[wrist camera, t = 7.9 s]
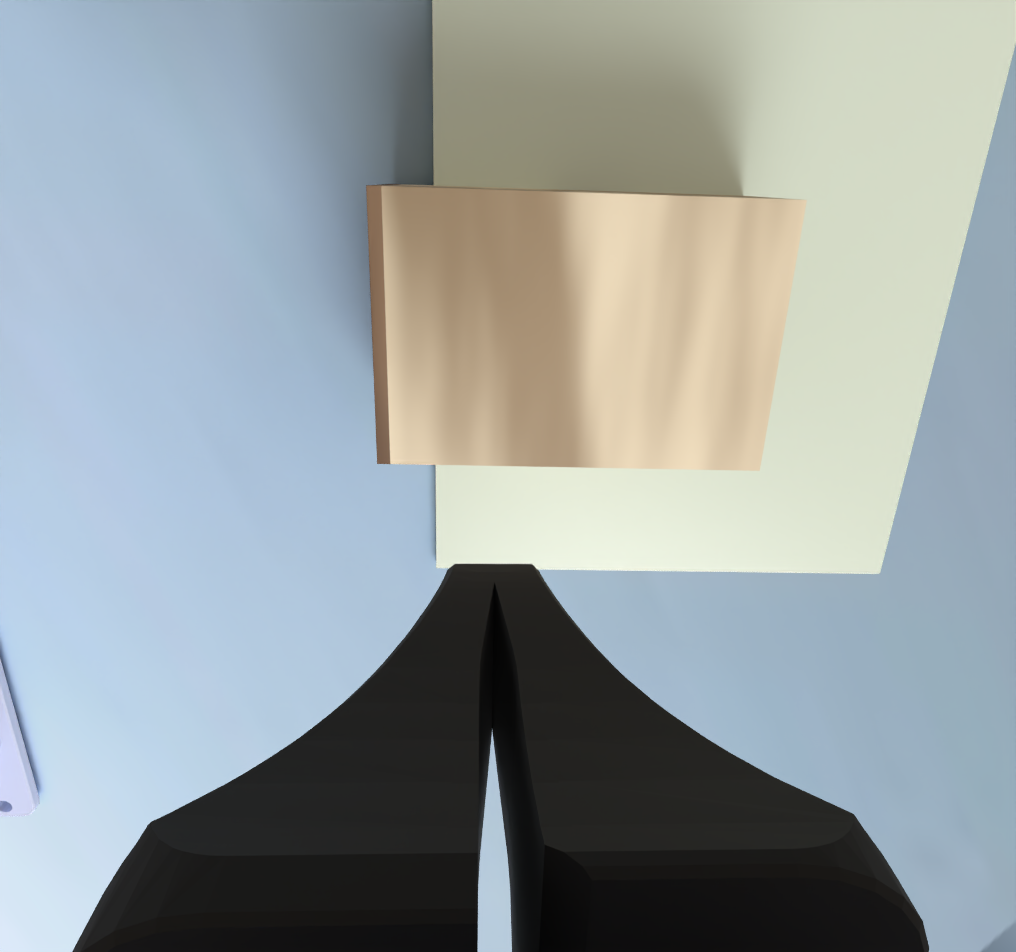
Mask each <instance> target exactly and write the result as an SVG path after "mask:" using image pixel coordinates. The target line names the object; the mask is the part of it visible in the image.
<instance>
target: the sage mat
mask: <svg viewBox="0 0 1016 952" xmlns="http://www.w3.org/2000/svg"><path fill="white" fill-rule="evenodd" d="M432 27H433V167H434V185H437V186H468V187H498V188H528V189H559V190H589V191H619V192H649V193H680V194H710V195H740V196H756V197H771V198H785V199H800V200H807V203H806V208H805V214H804V220H803V225H802V231H801V237H800V243H799V248H798V254H797V260H796V266H795V271H794V277H793V283H792V289H791V294H790V300H789V306H788V312H787V317H786V323H785V329H784V334H783V340H782V346H781V352H780V357H779V363H778V369H777V375H776V380H775V386H774V392H773V398H772V403H771V409H770V415H769V421H768V426H767V432H766V438H765V443H764V449H763V455H762V461H761V466H760V471H742V470H688V469H634V468H581V467H527V466H473V465H436V568H450V567H452V566H453V565H454V564H533V565H534V566H535V568H536V569H552V570H627V571H702V572H777V573H853V574H880V571H881V567H882V563H883V559H884V555H885V551H886V547H887V543H888V540H889V536H890V532H891V528H892V524H893V520H894V516H895V512H896V508H897V504H898V501H899V497H900V493H901V489H902V485H903V481H904V477H905V473H906V469H907V465H908V461H909V458H910V454H911V450H912V446H913V442H914V438H915V434H916V430H917V426H918V422H919V419H920V415H921V411H922V407H923V403H924V399H925V395H926V391H927V387H928V383H929V380H930V376H931V372H932V368H933V364H934V360H935V356H936V352H937V348H938V344H939V340H940V337H941V333H942V329H943V325H944V321H945V317H946V313H947V309H948V305H949V301H950V298H951V294H952V290H953V286H954V282H955V278H956V274H957V270H958V266H959V262H960V259H961V255H962V251H963V247H964V243H965V239H966V235H967V231H968V227H969V223H970V219H971V216H972V212H973V208H974V204H975V200H976V196H977V192H978V188H979V184H980V180H981V177H982V173H983V169H984V165H985V161H986V157H987V153H988V149H989V145H990V141H991V138H992V134H993V130H994V126H995V122H996V118H997V114H998V110H999V106H1000V102H1001V98H1002V95H1003V91H1004V87H1005V83H1006V79H1007V75H1008V71H1009V67H1010V63H1011V59H1012V56H1013V52H1014V48H1015V44H1016V0H432Z"/></svg>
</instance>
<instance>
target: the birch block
mask: <svg viewBox="0 0 1016 952" xmlns="http://www.w3.org/2000/svg"><path fill="white" fill-rule="evenodd" d="M366 191H367V216H368V241H369V267H370V292H371V317H372V342H373V368H374V393H375V418H376V443H377V464H420V465H473V466H527V467H581V468H634V469H688V470H742V471H760V466H761V461H762V455H763V449H764V443H765V438H766V432H767V426H768V421H769V415H770V409H771V403H772V398H773V392H774V386H775V380H776V375H777V369H778V363H779V357H780V352H781V346H782V340H783V334H784V329H785V323H786V317H787V312H788V306H789V300H790V294H791V289H792V283H793V277H794V271H795V266H796V260H797V254H798V248H799V243H800V237H801V231H802V225H803V220H804V214H805V208H806V203H807V200H800V199H785V198H771V197H756V196H740V195H710V194H680V193H649V192H619V191H589V190H559V189H528V188H498V187H468V186H437V185H407V184H382V185H366Z"/></svg>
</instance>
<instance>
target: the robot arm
mask: <svg viewBox="0 0 1016 952" xmlns="http://www.w3.org/2000/svg"><path fill="white" fill-rule="evenodd" d="M492 730H493V739H494V748H495V756H496V764H497V773H498V781H499V789H500V797H501V805H502V814H503V822H504V830H505V838H506V846H507V855H508V865H509V878H510V894H511V928H512V952H929V945H928V941H927V937H926V933H925V929H924V925H923V921H922V919H921V918H920V916H919V914H918V913H917V911H916V909H915V907H914V906H913V904H912V902H911V901H910V899H909V897H908V896H907V894H906V892H905V891H904V889H903V887H902V885H901V884H900V882H899V880H898V879H897V877H896V875H895V874H894V872H893V871H892V869H891V867H890V866H889V864H888V863H887V861H886V859H885V858H884V856H883V855H882V853H881V852H880V851H879V849H878V848H877V846H876V845H875V844H874V842H873V841H872V840H871V838H870V837H869V835H868V834H867V833H866V831H865V830H864V829H863V827H862V826H861V824H860V823H859V821H858V820H857V818H856V817H855V815H854V814H852V813H850V812H848V811H846V810H844V809H841V808H839V807H837V806H835V805H833V804H831V803H828V802H826V801H824V800H822V799H820V798H818V797H815V796H813V795H811V794H809V793H807V792H805V791H802V790H800V789H798V788H796V787H794V786H792V785H789V784H787V783H785V782H783V781H781V780H779V779H777V778H775V777H773V776H771V775H769V774H767V773H765V772H763V771H762V770H760V769H758V768H756V767H754V766H753V765H751V764H749V763H747V762H745V761H744V760H742V759H740V758H738V757H736V756H735V755H733V754H731V753H729V752H728V751H726V750H724V749H723V748H721V747H719V746H718V745H716V744H715V743H713V742H711V741H710V740H708V739H706V738H705V737H703V736H702V735H700V734H699V733H697V732H696V731H694V730H693V729H692V728H690V727H689V726H687V725H686V724H684V723H683V722H681V721H680V720H679V719H677V718H676V717H674V716H673V715H671V714H670V713H668V712H667V711H666V710H665V709H663V708H662V707H661V706H659V705H658V704H657V703H655V702H654V701H653V700H651V699H650V698H649V697H648V696H647V695H645V694H644V693H643V692H642V691H641V690H640V689H638V688H637V687H636V686H635V685H634V684H632V683H631V682H630V681H629V680H628V679H627V678H625V677H624V676H623V675H622V674H621V673H620V672H619V671H618V670H617V669H616V668H615V667H614V666H613V665H612V664H611V663H610V662H609V661H608V660H607V659H606V658H605V657H604V656H603V655H602V653H601V652H600V651H599V650H598V649H597V648H596V647H595V646H594V645H593V644H592V643H591V641H590V640H589V639H588V638H587V637H586V636H585V634H584V633H583V632H582V631H581V630H580V628H579V627H578V626H577V625H576V623H575V622H574V621H573V620H572V619H571V617H570V616H569V615H568V614H567V612H566V611H565V610H564V608H563V607H562V606H561V604H560V603H559V601H558V600H557V599H556V597H555V596H554V594H553V593H552V592H551V590H550V589H549V587H548V586H547V584H546V582H545V581H544V579H543V578H542V576H541V574H540V572H539V571H538V570H537V569H536V568H535V566H534V565H533V564H454V565H453V566H452V567H450V568H449V569H448V570H447V573H446V575H445V577H444V579H443V581H442V583H441V585H440V587H439V589H438V590H437V592H436V594H435V595H434V597H433V598H432V600H431V602H430V603H429V605H428V606H427V608H426V609H425V611H424V612H423V613H422V615H421V616H420V618H419V619H418V620H417V622H416V623H415V625H414V626H413V628H412V629H411V630H410V632H409V633H408V634H407V635H406V637H405V638H404V639H403V640H402V641H401V643H400V644H399V645H398V646H397V647H396V649H395V650H394V651H393V652H392V653H391V655H390V656H389V657H388V658H387V659H386V661H385V662H384V663H383V664H382V665H381V666H380V667H379V668H378V669H377V670H376V671H375V673H374V674H373V675H372V676H371V677H370V678H369V679H368V680H367V681H366V682H365V683H364V684H363V685H362V686H361V687H360V688H359V689H358V690H357V691H355V692H354V693H353V694H352V695H351V696H350V697H349V698H348V699H347V700H346V701H345V702H344V703H343V704H341V705H340V706H339V707H338V708H337V709H335V710H334V711H333V712H332V713H331V714H329V715H328V716H327V717H326V718H324V719H323V720H322V721H321V722H319V723H318V724H317V725H316V726H314V727H313V728H312V729H310V730H309V731H308V732H307V733H305V734H304V735H303V736H301V737H300V738H298V739H297V740H296V741H294V742H293V743H291V744H290V745H288V746H287V747H285V748H284V749H282V750H281V751H279V752H278V753H276V754H275V755H273V756H272V757H270V758H269V759H267V760H265V761H264V762H262V763H260V764H259V765H257V766H256V767H254V768H252V769H251V770H249V771H248V772H246V773H244V774H243V775H241V776H239V777H237V778H236V779H234V780H232V781H230V782H229V783H227V784H225V785H223V786H221V787H219V788H217V789H215V790H213V791H212V792H210V793H208V794H206V795H204V796H202V797H200V798H198V799H196V800H194V801H192V802H190V803H188V804H186V805H185V806H183V807H181V808H179V809H177V810H175V811H173V812H171V813H169V814H167V815H165V816H163V817H161V818H159V819H156V820H154V821H152V822H151V823H150V824H149V825H148V826H147V828H146V829H145V831H144V832H143V834H142V835H141V837H140V839H139V840H138V842H137V843H136V845H135V846H134V848H133V849H132V850H131V852H130V853H129V855H128V856H127V857H126V859H125V860H124V862H123V863H122V864H121V866H120V868H119V869H118V871H117V872H116V874H115V876H114V877H113V879H112V880H111V882H110V884H109V885H108V887H107V888H106V890H105V892H104V893H103V895H102V897H101V899H100V901H99V903H98V904H97V906H96V908H95V910H94V912H93V914H92V916H91V918H90V919H89V921H88V923H87V925H86V927H85V929H84V931H83V933H82V935H81V936H80V938H79V940H78V942H77V944H76V946H75V948H74V950H73V951H72V952H477V940H478V878H479V860H480V849H481V838H482V828H483V818H484V807H485V797H486V787H487V777H488V766H489V756H490V745H491V735H492ZM39 803H40V799H39V795H38V791H37V788H36V784H35V781H34V777H33V774H32V770H31V766H30V763H29V759H28V756H27V752H26V749H25V745H24V741H23V738H22V734H21V731H20V727H19V724H18V720H17V716H16V713H15V709H14V706H13V702H12V699H11V695H10V691H9V688H8V684H7V681H6V677H5V674H4V670H3V667H2V663H1V659H0V816H28V815H30V814H32V813H33V812H34V810H35V809H36V808H37V806H38V804H39Z"/></svg>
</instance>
